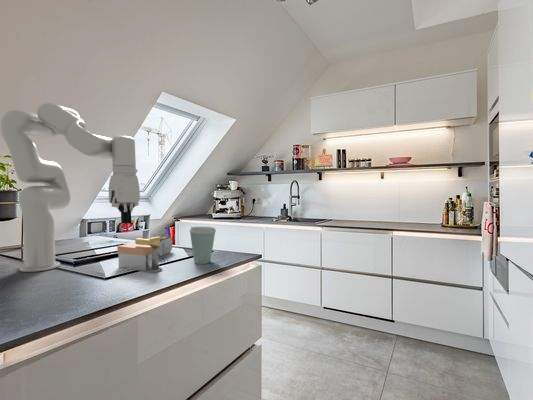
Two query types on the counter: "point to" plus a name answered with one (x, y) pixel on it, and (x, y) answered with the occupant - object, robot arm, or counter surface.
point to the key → (148, 241)
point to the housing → (141, 261)
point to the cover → (135, 249)
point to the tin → (165, 245)
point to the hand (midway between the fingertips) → (126, 222)
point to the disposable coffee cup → (202, 243)
